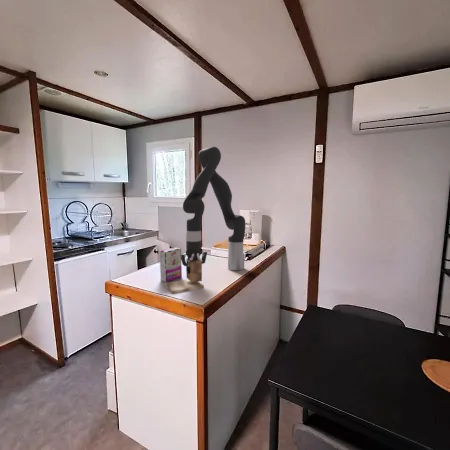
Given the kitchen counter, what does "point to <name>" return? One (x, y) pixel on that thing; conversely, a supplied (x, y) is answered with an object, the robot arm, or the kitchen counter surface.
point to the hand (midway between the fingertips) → (193, 272)
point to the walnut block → (195, 271)
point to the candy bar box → (170, 264)
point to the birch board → (183, 286)
